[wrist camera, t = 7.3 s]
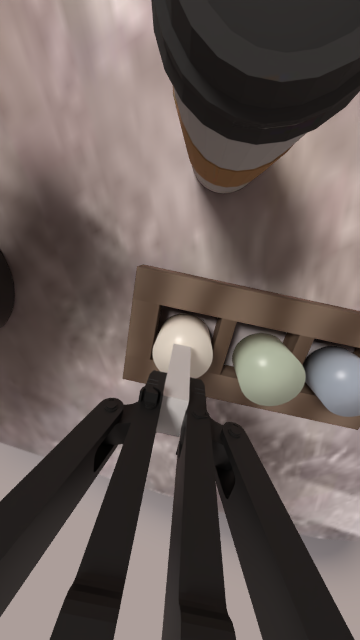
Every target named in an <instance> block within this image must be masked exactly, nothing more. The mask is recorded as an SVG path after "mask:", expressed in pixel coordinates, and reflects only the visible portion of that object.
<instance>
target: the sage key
mask: <svg viewBox="0 0 360 640" xmlns="http://www.w3.org/2000/svg"><path fill="white" fill-rule="evenodd" d="M232 362H233V366H234V369H235V372H236V375H237V378H238V382H239V385H240V388H241V390H242V392H243V394H244V395H245V396H246V397H247V398H248V399H249V400H250V401H252V402H254V403H256V404H259V405H263V406H277V405H281V404H284V403H286V402H288V401H290V400H292V399H293V398H295V397H296V396H297V395H298V394H299V393H300V391H301V390H302V388H303V386H304V383H305V377H306V376H305V370H304V368H303V366H302V364H301V363H300V362H299V361H298V359H297V358H296V357H295V356H294V355H293V354H292V353H291V352H290V351H289V349H288V348H287V347H286V346H285V345H284V344H283V343H282V342H281V341H280V340H279V339H278V338H277V337H275V336H273V335H270V334H265V333H257V334H252V335H249V336H247V337H245V338H244V339H242V340H241V341H240V342H239V343H238V344H237V345H236V347H235V349H234V351H233V355H232Z"/></svg>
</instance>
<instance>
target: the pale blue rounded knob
mask: <svg viewBox="0 0 360 640" xmlns="http://www.w3.org/2000/svg"><path fill="white" fill-rule="evenodd" d="M303 368H304V370H305V376H306V377H305V382H306V383H307V385H308V386H309V387H310V388H311V390H312V391H313V392H314V393H315V395H316V396H317V397H318V398H319V399H320V401H321V402H322V403H323V404H324V406H325V407H326V408H327V409H328V410H329V411H330V412H332V413H334V414H336V415H339V416H344V417H354V416H359V415H360V358H359V357H358V356H356V355H355V354H353V353H352V352H350V351H349V350H347V349H346V348H343V347H340V346H327V347H323V348H320V349H318V350H316V351H314V352H313V353H311V354H310V355H309V356H308V357H307V359H306V360H305V362H304V363H303Z"/></svg>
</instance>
